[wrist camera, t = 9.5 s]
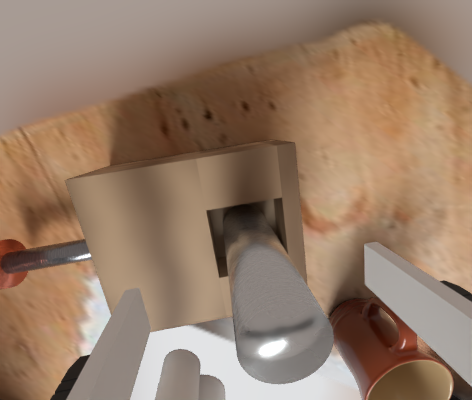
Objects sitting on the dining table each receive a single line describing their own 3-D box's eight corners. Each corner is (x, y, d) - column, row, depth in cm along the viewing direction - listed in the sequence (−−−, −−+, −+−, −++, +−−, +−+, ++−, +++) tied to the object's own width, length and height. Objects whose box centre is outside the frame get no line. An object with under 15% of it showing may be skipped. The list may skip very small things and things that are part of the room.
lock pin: (25, 272, 26) (-12, 300, 22) (8, 233, 25) (-34, 254, 20) (156, 249, 26) (145, 272, 22) (146, 210, 25) (132, 226, 21)
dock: (144, 284, 29) (119, 338, 22) (109, 165, 25) (64, 180, 18) (284, 258, 30) (308, 301, 22) (271, 139, 26) (295, 142, 19)
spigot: (226, 247, 24) (244, 392, 11) (219, 207, 23) (228, 313, 9) (267, 239, 24) (336, 373, 11) (262, 200, 23) (331, 293, 10)
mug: (380, 340, 35) (447, 423, 25) (319, 349, 34) (362, 437, 24) (387, 263, 31) (467, 322, 22) (320, 271, 31) (370, 336, 21)
